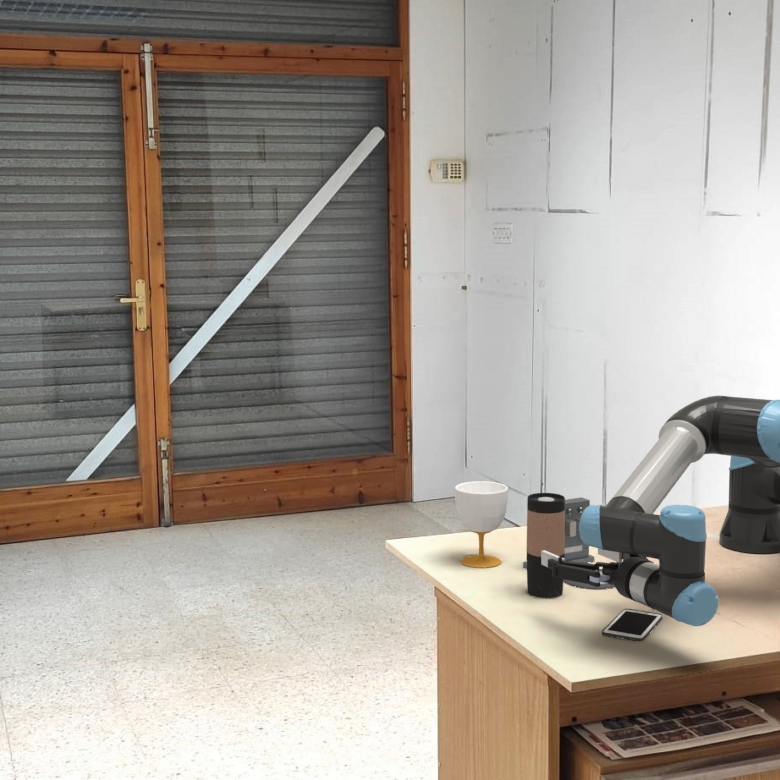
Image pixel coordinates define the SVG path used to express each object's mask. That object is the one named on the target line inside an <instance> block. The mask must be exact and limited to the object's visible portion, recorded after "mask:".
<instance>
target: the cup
mask: <svg viewBox="0 0 780 780" xmlns="http://www.w3.org/2000/svg"><path fill="white" fill-rule="evenodd" d="M508 494H509V487H508V486H507V485H506V484H503V483H501V482H494V481H487V480H486V481H485V480H484V481H483V480H481V481H478V480H477V481H466V482H461V483H459V484H457V485H455V487H454V499H455V506H456V507H455V508H456V513H457V517H458V520H459V521H460V523H461V525H462V526H463V528H465V529H466V530H468V531H470V532H471V533H473V534H477V536H478V554H476V555H475V554H474V555H473V554H472V555H468V556H465V557H463V558H461V560H460V563H461V564H462V565H463V566H466V567H470V568H474V567H476V568H477V569H485V568H484V567H491V568H494V567H493V566H495V567H498V566H499V565H501V563H502V560H501V558H499V557H497V556H493V555H488V554H487V555H486V554H485V551H484V547H485V546H484V541H485V540H484V539H485V535H486V534H489V533H491V532H493V531H496V530H497V529H499V528H500V526H501V524H502V523H503V521H504V519H505V517H506V513H507V507H508V501H509V500H508V499H509V497H508V496H509V495H508ZM497 565H498V566H497ZM480 567H482V568H480ZM476 568H475V569H476Z"/></svg>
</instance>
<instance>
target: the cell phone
mask: <svg viewBox="0 0 780 780" xmlns="http://www.w3.org/2000/svg"><path fill="white" fill-rule="evenodd" d="M663 616H664V615H663V613H658V612H652V611H646V610H639V609H633V608H624V609H622V610H621V611H620V612H619V613H618V614H617V615H616V616H615V617H614V618H613V619H612V620H611V621H610V622H609V623H608V625H607V626H605V627H604V628H603V630H602V631H601V635H602V636H603V637H607V638H614V639H622V638H623V639H622V640H624V639H626V640H625V641H630V640H633V641H632V642H636V641H638V643H641V641H642V642H644V641H645V640H646V639H647V638H648V637H649V635H650V634H651V633H652V632H653V631H654V630H655V628H656V627H658V625H659V624H660V622H661V621H662V620H663V618H664V617H663ZM658 623H659V624H658ZM652 630H653V631H652ZM651 631H652V632H651ZM650 632H651V633H650ZM645 638H646V639H645ZM643 640H644V641H643Z"/></svg>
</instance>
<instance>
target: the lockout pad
mask: <svg viewBox="0 0 780 780" xmlns="http://www.w3.org/2000/svg"><path fill="white" fill-rule="evenodd" d="M599 572H600V574H602V568H599ZM563 581H564V582H563V583H565V584H566V583H567V585H568V584H569V586H572V587H574V586H576V587H575V588H578V587H580V588H579V589H584V588H586V589H587V590H607V589H606V588H610V589H614V588H613V587H615V586H614V585H611V584H608V583H605V582H600V587H595V586H592V585H589V584H585V583H580V582H575V581H570V580H565V579H563Z"/></svg>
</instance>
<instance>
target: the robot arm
mask: <svg viewBox="0 0 780 780" xmlns="http://www.w3.org/2000/svg"><path fill="white" fill-rule="evenodd" d="M707 454H708V455H722V456H730V463H729V468H728V473H729V476H728V479H729V481H728V510H727V514H726V516H725V517H724V518H725V519H724V521H723V522H722V523H723V524H722V526H721V529H720V530H719V531H720V532H719V542H718V543H719V544H720V545H721V546H722V547H725V548H727V549H729V550H733V551H737V552H741V553H743V552H744V553H747V554H748V553H750V554H775V553H780V399H765V398H753V397H752V398H751V397H741V396H740V397H739V396H738V397H737V396H729V395H712V396H708V397H702V398H701V399H698V400H696V401H693V402H691V403H689V404H688V405H685V406H684V407H683V408H680V409H678V411H676V412H675V413H673V414H671V416H670V417H669V418H668V419H667V420H666V421H665V422H664V424H663V425H662V426H661V428H660V429H659V432H658V440H657V441H656V442H655V444H654V445H653V446H652V447H651V449H650V450H649V451H648V452H647V454H645V456H644V457H643V458H642V460H641V461H640V462H639V464H638V465H637V466H636V467H635V469H634V470H633V471H632V473H630V475H629V477H628V478H627V479H626V480H625V481H624V483H623V484H622V485H621V487H620V488H619V489H618V490H617V491H616V493H615V494H614V495H613V497H612V498H611V499H610V500H609V501H608V502H607V503H606V505H602V504H598V505H595V504H594V505H593V504H591V505H590V506H588V507H586V508H585V510H584V511H583V513H582V515H581V518H580V523H579V532H580V537H581V540H582V541H583V543H584V544H586V545H587V546H589V547H592V548H595V549H597V555H599V556H601V557H604V558H606V559H609V560H611V562H603V561H597V562H594V563H579V562H569V561H565V559H564V558H562V557H559V556H557V555H555V554H552V553H550V552H548V551H545V550H543V551H541V564H542V565H544V566H546V567H548V568H551V569H552V577H554V578H559V579H565V580H570V581H575V582H580V583H585V584H589V585H592V586H595V587H600V582H605V583H608V584H611V585H614V586H615V589H616V591H617V592H618V593H619V594H620V596H622V597H624V598H627V599H629V600H630V601H633V602H636V603H639V604H641V605H643V606H646V607H647V608H651V609H650V610H651V611H656V612H657V613H658V612H659V613H660V614H662V615H663V614H664V615H665V616H668V617H670V618H672V619H674V620H675V621H677V622H680V623H682V624H686V625H689V626H693V627H701V626H705V625H706V624H708V623H710V621H712V620H713V618H714V617H715V615H716V614H717V611H718V610H719V609H718V608H719V596H718V594H717V591H716V589H715V588H714V587H713V586H712V585H710V584H709V583H707V582H706V572H705V565H706V550H707V549H706V545H707V544H706V543H707V536H708V535H707V531H706V530H707V529H706V525H707V524H706V514H705V512H704V511H703V510H702V509H701V508H699V507H696V506H695V505H694V506H693V505H687V504H670V505H666V506H663V507H662V509H661V510H660V514H655V512H656V511H657V509H658V508H659V507H660V505H661V504H662V502H664V500H665V499H666V497H667V496H668V495H669V494H670V492H671V491H672V490H673V488H674V487H675V485H676V483H678V481H679V480H680V478H681V477H682V476H683V474H684V473H685V472H686V471H687V469H688V467H689V466H690V465H691V464H692V463H696V462H698V461H700V460H701V459H702V458H703V457H704V455H707ZM648 558H650V559H656V560H658V564H657V563H655V562H654V561H652V560H649V559H648ZM600 568H601V569H602V574H600V572H599V569H600Z"/></svg>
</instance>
